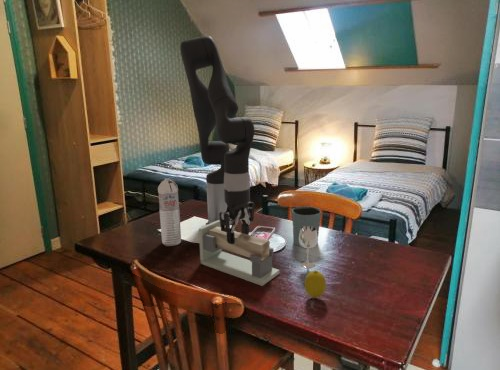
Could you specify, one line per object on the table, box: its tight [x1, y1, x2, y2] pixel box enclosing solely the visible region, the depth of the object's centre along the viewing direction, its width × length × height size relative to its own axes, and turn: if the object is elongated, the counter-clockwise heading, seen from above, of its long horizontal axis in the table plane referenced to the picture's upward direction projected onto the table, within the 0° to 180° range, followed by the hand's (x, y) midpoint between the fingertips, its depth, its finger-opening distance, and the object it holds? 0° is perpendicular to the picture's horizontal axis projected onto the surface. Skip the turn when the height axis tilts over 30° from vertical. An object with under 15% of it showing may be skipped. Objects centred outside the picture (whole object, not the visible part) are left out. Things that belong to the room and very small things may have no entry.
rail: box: [209, 226, 270, 261], centre depth 120 cm, size 4×20×5 cm, turn 53°
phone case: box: [249, 225, 276, 240], centre depth 147 cm, size 7×1×15 cm
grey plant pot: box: [291, 205, 322, 248], centre depth 139 cm, size 10×10×12 cm
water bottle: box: [157, 174, 182, 247], centre depth 138 cm, size 7×7×25 cm
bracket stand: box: [198, 220, 280, 287], centre depth 120 cm, size 9×24×12 cm, turn 53°
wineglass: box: [299, 226, 319, 269], centre depth 122 cm, size 6×6×12 cm
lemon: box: [304, 270, 327, 299], centre depth 104 cm, size 6×6×8 cm
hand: (238, 239), depth 119 cm, fingers open, 6 cm apart
